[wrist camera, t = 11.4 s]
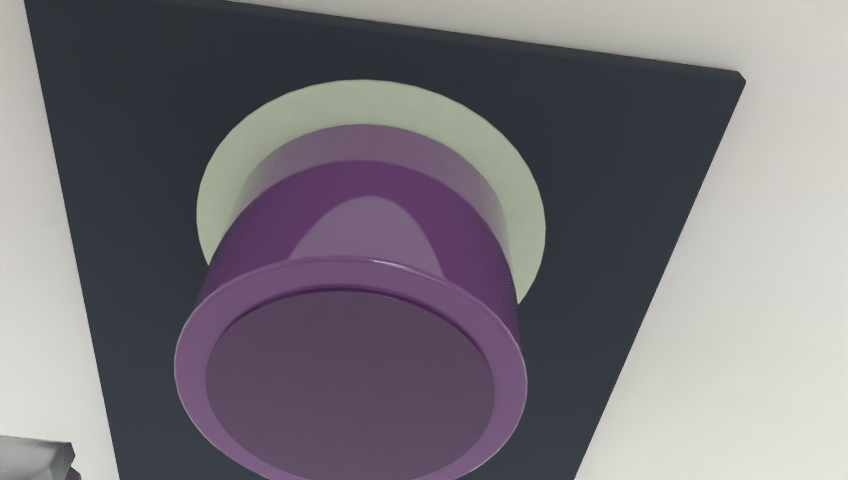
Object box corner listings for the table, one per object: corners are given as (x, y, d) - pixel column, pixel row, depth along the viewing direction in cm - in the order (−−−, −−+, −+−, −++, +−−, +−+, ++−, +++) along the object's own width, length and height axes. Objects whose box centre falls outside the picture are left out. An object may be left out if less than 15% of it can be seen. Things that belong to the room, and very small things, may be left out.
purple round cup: (228, 103, 15) (155, 238, 11) (537, 144, 15) (569, 287, 11) (234, 329, 18) (183, 487, 15) (481, 357, 19) (491, 516, 15)
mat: (31, -28, 14) (15, -18, 13) (739, 70, 15) (750, 83, 14) (149, 598, 28) (144, 613, 27) (503, 628, 29) (504, 643, 28)
